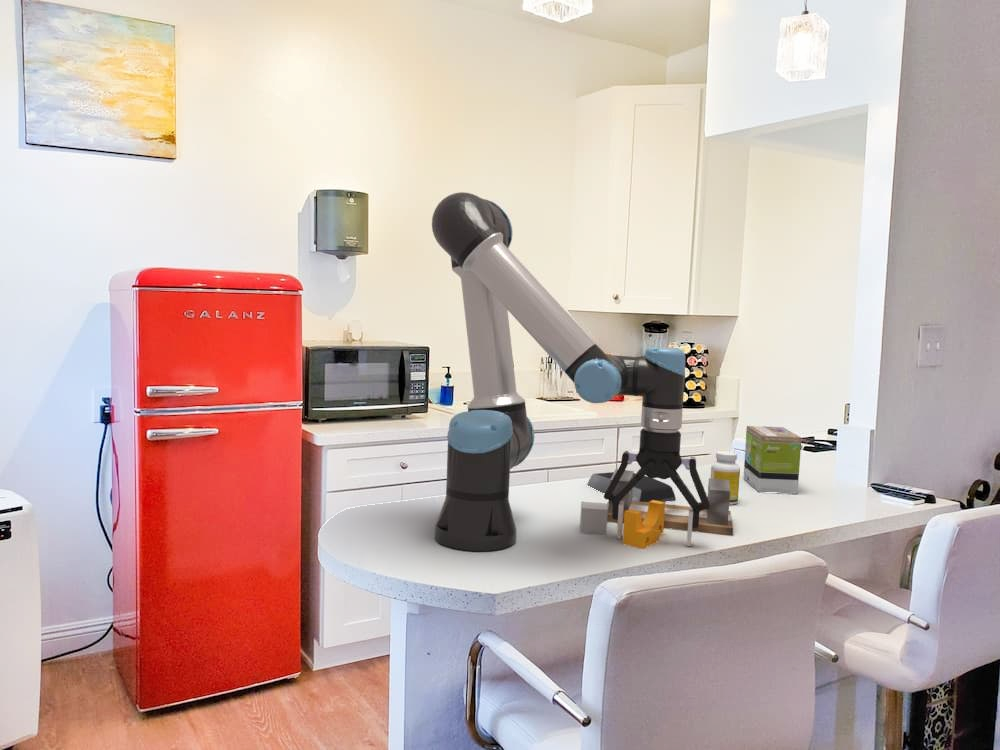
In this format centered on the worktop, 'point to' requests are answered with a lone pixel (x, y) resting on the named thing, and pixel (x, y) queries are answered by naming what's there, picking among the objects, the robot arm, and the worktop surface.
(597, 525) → the block
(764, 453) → the tea box
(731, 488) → the pill bottle
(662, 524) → the pipe clamp
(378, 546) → the worktop surface
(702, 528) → the rail board
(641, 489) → the dark piece
